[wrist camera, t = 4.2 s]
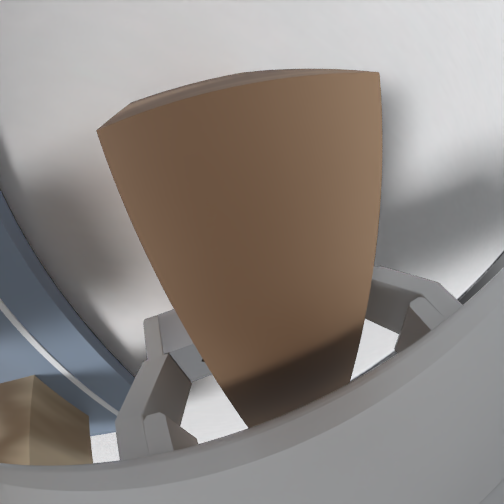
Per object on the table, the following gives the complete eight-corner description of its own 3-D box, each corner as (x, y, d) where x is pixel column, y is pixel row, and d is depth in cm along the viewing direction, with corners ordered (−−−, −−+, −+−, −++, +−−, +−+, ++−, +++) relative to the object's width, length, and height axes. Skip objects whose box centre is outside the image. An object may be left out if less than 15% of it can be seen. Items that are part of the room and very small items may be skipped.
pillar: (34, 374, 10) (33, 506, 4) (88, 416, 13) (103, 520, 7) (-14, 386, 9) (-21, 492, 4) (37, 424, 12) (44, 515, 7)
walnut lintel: (241, 72, 8) (379, 72, 3) (286, 332, 15) (337, 421, 11) (131, 102, 7) (96, 130, 2) (227, 355, 15) (267, 452, 10)
